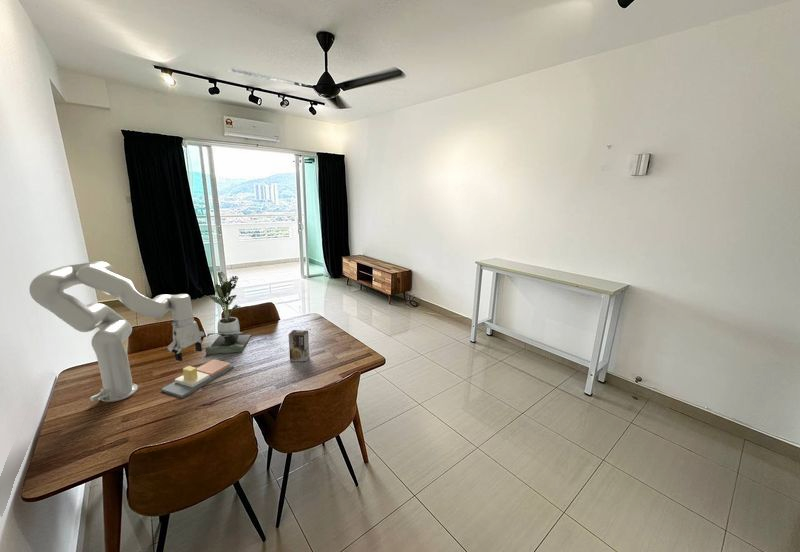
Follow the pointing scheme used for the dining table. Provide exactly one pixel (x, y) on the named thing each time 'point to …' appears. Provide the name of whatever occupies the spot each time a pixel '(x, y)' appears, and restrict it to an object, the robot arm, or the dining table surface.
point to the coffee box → (299, 345)
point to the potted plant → (227, 322)
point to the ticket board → (211, 368)
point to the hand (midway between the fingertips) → (189, 355)
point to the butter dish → (191, 377)
